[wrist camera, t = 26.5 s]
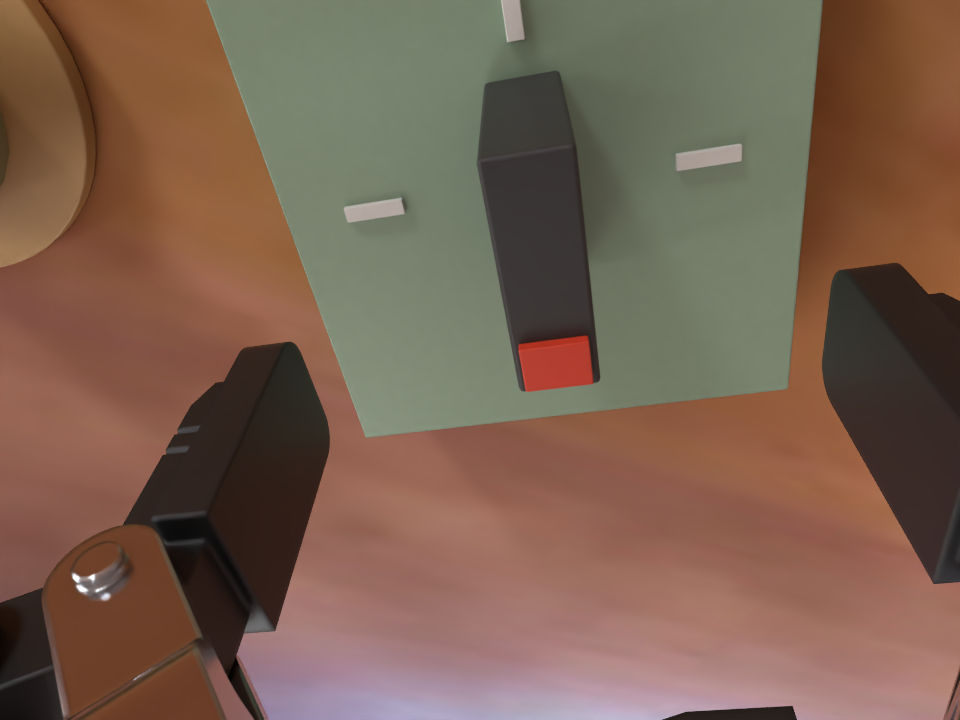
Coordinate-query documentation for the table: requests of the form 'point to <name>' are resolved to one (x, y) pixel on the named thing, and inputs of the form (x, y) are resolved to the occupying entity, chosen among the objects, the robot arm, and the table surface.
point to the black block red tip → (538, 230)
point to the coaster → (40, 133)
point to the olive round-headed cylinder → (3, 150)
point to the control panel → (603, 177)
